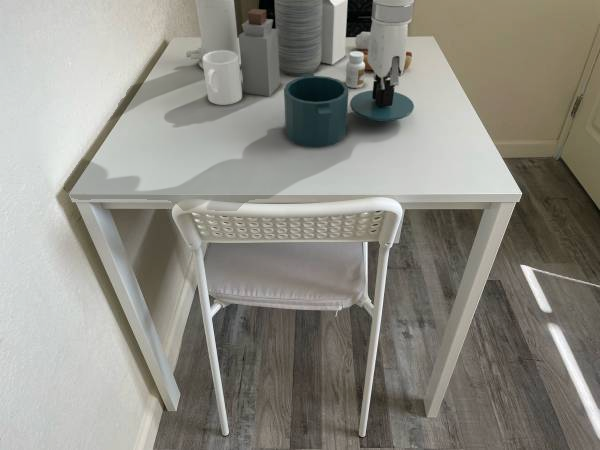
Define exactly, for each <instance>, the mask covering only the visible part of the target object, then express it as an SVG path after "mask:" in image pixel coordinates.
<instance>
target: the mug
mask: <svg viewBox="0 0 600 450" xmlns="http://www.w3.org/2000/svg"><path fill="white" fill-rule="evenodd" d="M202 61H203V68H204V69H203V72H204V73H203V74H204V80H205V86H206V93H207V99H208V101H209V102H210V103H211V104H214V105H219V106H226V105H227V106H229V105H233V104H235V103H238V102H239V101H241V100H242V98H243V86H242V78H241V69H240V68H241V67H240V66H239V56H238V55H237V54H236V53H235V52H232V51H227V50H218V51H213V52H209V53H207V54H205V55H204V56H203V58H202Z"/></svg>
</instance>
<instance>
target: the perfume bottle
mask: <svg viewBox="0 0 600 450" xmlns="http://www.w3.org/2000/svg"><path fill="white" fill-rule="evenodd" d="M246 15H247V20H246V21H245V22H243V23H242V24H241V27H242V29H243V32H241V33H240V34H239V35H238V47H239V53H240V57H241V67H240V68H241V76H242V78H241V79H242V89H243V93H244V94H251V95H257V96H264V97H271V96H272V95H273V93H274V92H275V91H276V90H277V89H278V87H280V85H281V84H280V66H279V56H278V31H277V29H276V28H273V23H274V19H272V18H271V19H270V18H267V9H260V8H259V9H258V8H252V9H251V10H249V11H247V13H246Z"/></svg>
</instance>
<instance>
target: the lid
mask: <svg viewBox="0 0 600 450" xmlns="http://www.w3.org/2000/svg"><path fill="white" fill-rule="evenodd" d="M385 82H386V81H385ZM379 88H381V81H379V82H378V83H377V91H376V99H375V100H374V99H373V98H372V93H373V89H372V90H366V91H362V92H359V93H357V94H355V95H353V96H352V98H351V99H350V101H349V106H350V109H351V111H353V113H355V114H356V115H358V116H360V117H362V118H365V119H369V120H371V121H372V120H373V121H381V122H388V121H397V120H402V119H404V118H407V117H408V116H410V115H411V114H412V113H413V111H414V108H415V105H414V102H413V101H412V100H411V98H410V97H408V96H406V95H405V94H402V93H399V92H396V91H394V95H393V103H392V106H386V107H378V106H377V100H378V91H379Z"/></svg>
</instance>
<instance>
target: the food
mask: <svg viewBox="0 0 600 450" xmlns="http://www.w3.org/2000/svg"><path fill="white" fill-rule="evenodd" d="M360 52H362V53H363V54H364V58H363V62H364V64H365V70H366V71H374V70H373V69H372V68H371V66H370V65H369V63H368V61H367V55H368V50H361V51H360ZM412 57H413V53H412V52H411V51H406V57H405V64H404V70H403V71H405V70H407V69H408V68H410V66H411V63H412V60H413V59H412ZM365 70H364V71H365Z"/></svg>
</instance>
